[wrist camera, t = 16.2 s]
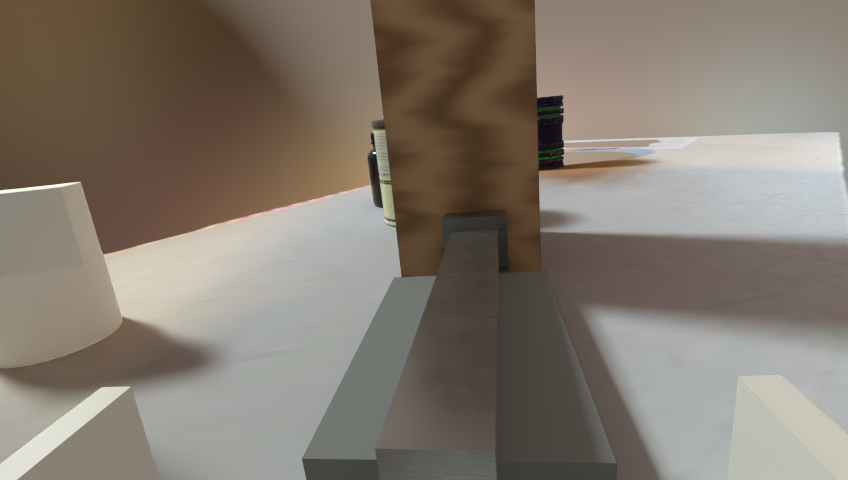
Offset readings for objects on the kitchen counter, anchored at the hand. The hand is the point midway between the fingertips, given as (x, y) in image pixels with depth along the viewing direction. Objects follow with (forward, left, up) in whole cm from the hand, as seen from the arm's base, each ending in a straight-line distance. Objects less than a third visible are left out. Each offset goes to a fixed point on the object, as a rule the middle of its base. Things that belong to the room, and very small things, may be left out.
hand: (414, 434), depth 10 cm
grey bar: (0, +15, -6) cm, 16 cm away
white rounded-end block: (-33, +21, -8) cm, 40 cm away
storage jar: (+14, +97, -8) cm, 98 cm away
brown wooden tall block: (0, +37, -8) cm, 38 cm away
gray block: (0, +16, -8) cm, 18 cm away
